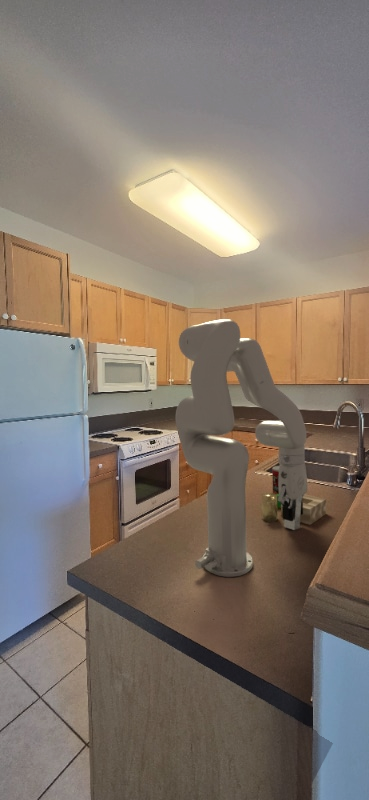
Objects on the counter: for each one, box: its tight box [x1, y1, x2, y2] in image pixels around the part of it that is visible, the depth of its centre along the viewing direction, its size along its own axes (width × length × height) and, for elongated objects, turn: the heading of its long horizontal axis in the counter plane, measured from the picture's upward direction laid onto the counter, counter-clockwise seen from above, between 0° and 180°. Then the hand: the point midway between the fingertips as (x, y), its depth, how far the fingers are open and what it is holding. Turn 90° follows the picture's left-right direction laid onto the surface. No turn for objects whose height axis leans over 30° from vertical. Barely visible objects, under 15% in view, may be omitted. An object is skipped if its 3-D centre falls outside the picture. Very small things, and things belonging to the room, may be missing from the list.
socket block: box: [280, 493, 327, 526], centre depth 112 cm, size 12×10×5 cm
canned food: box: [271, 465, 280, 494], centre depth 131 cm, size 8×8×11 cm
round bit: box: [261, 491, 278, 523], centre depth 110 cm, size 5×5×8 cm
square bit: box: [283, 495, 302, 531], centre depth 102 cm, size 3×3×10 cm
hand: (293, 516), depth 102 cm, fingers open, 5 cm apart
